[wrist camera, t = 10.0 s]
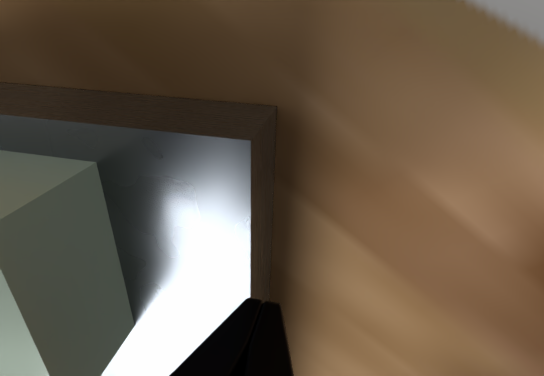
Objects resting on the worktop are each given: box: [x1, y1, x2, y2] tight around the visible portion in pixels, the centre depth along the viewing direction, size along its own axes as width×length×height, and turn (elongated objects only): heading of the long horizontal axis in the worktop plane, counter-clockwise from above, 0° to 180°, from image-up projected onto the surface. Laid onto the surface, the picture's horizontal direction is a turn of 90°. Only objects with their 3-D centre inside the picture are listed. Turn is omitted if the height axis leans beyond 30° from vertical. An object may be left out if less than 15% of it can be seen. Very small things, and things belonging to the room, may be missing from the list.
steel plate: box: [0, 82, 277, 376], centre depth 14 cm, size 16×14×3 cm
